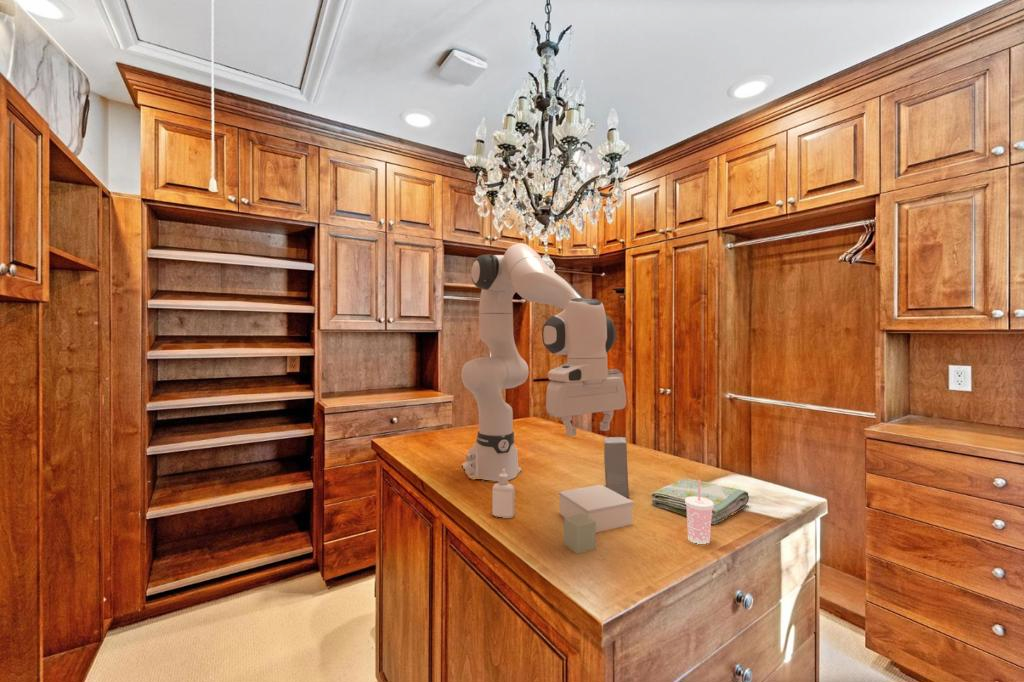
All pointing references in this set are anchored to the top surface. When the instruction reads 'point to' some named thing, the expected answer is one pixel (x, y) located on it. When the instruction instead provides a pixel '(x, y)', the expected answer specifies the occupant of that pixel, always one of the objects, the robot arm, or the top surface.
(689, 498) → the beverage cup
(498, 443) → the robot arm
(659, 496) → the towel
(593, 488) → the storage box
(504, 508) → the eye dropper bottle
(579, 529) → the green block
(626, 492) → the skincare box
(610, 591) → the top surface
